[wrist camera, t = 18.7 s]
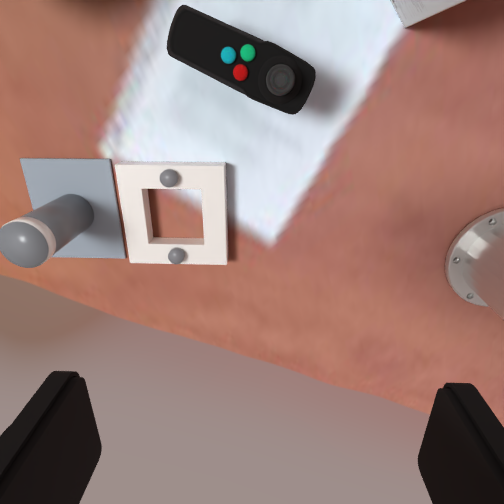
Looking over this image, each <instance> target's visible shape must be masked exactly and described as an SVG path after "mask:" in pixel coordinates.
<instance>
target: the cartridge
mask: <svg viewBox="0 0 504 504" xmlns="http://www.w3.org/2000/svg"><path fill="white" fill-rule="evenodd" d="M93 220H94V212H93V209H92V207H91V205H90V204H89V202H88V201H87V200H86V199H84V198H83V197H81V196H79V195H76V194H65V195H63V196H61V197H59V198H57V199H55V200H53V201H51V202H49V203H47V204H45V205H43V206H41V207H39V208H37V209H35V210H33V211H31V212H29V213H27V214H25V215H23V216H21V217H19V218H16V219H14V220H12V221H10V222H8V223H6V224H5V225H4V226H2V228H1V229H0V251H1V253H2V254H3V255H4V256H5V257H6V258H7V259H8V260H9V261H10V262H12V263H13V264H15V265H18V266H20V267H25V268H33V267H37V266H39V265H41V264H43V263H44V262H45V261H47V260H48V259H49V258H51V257H52V256H53V255H54V254H55V253H56V252H57V251H59V250H60V249H61V248H63V247H64V246H65V245H67V244H68V243H69V242H70V241H72V240H73V239H74V238H76V237H77V236H78V235H79V234H81V233H82V232H83V231H85V230H86V229H87V228H89V227H90V226H91V224H92V223H93Z"/></svg>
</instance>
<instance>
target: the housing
mask: <svg viewBox="0 0 504 504" xmlns="http://www.w3.org/2000/svg"><path fill="white" fill-rule="evenodd" d="M115 170H116V176H117V183H118V189H119V195H120V202H121V208H122V214H123V221H124V227H125V234H126V240H127V246H128V253H129V259H130V263H161V264H213V265H227V261H228V225H227V189H226V162H138V161H121V162H119V163H117V164H115ZM148 189H201V194H202V211H203V228H204V238H163V237H153V229H152V221H151V213H150V205H149V197H148Z"/></svg>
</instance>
